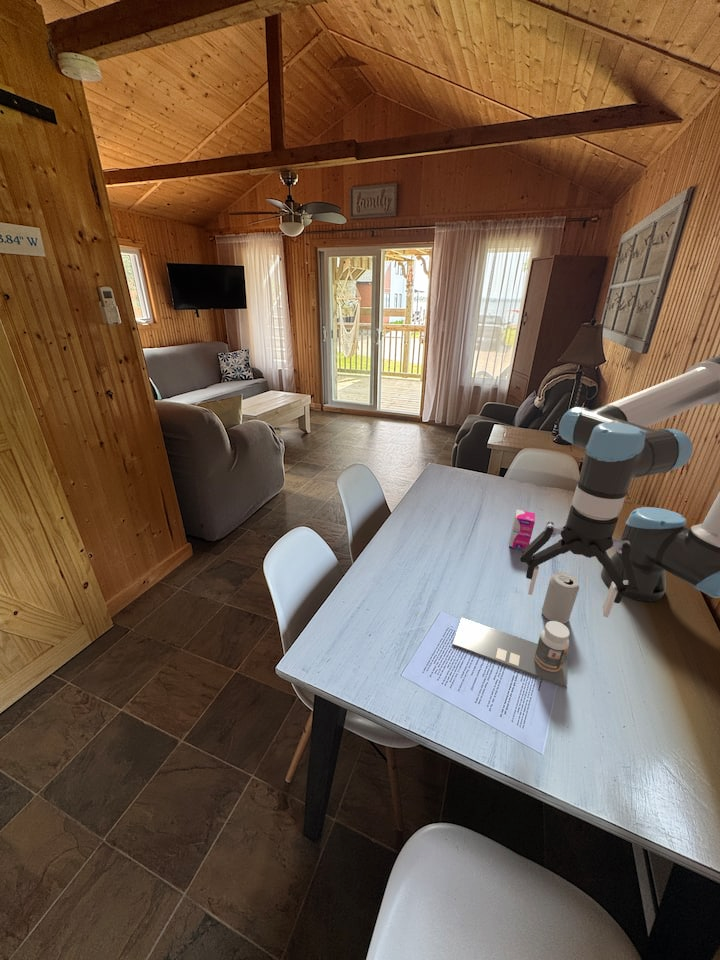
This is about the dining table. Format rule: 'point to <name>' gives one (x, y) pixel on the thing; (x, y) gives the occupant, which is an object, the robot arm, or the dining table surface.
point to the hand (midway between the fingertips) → (566, 601)
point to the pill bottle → (552, 646)
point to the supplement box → (522, 529)
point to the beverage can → (560, 597)
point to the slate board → (505, 650)
